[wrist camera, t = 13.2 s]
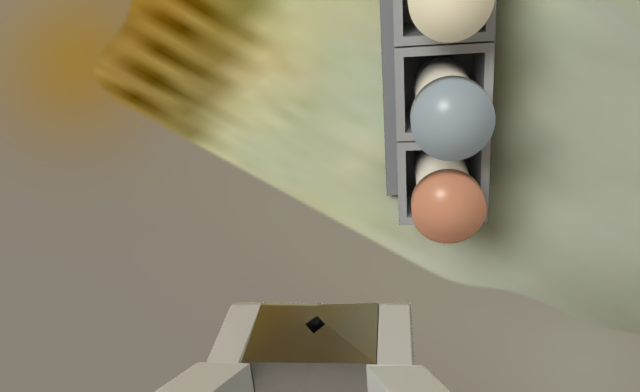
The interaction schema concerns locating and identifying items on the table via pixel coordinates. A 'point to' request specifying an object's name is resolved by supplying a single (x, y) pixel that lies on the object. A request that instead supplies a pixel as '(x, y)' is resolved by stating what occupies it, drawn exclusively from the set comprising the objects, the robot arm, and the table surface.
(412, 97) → the socket board
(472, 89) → the slate plug
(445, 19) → the cream plug
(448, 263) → the table surface
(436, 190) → the terracotta plug
